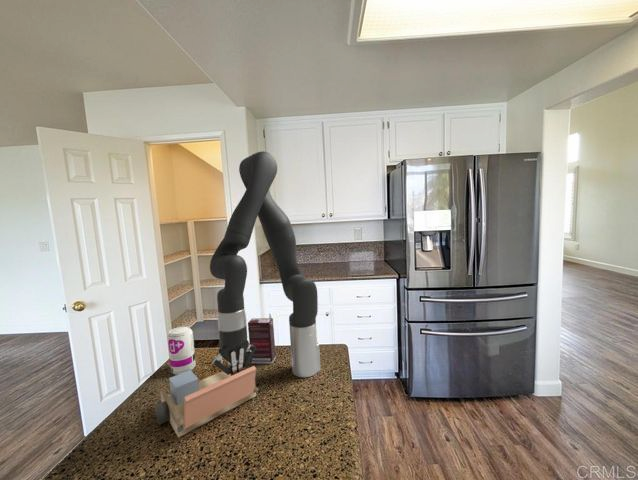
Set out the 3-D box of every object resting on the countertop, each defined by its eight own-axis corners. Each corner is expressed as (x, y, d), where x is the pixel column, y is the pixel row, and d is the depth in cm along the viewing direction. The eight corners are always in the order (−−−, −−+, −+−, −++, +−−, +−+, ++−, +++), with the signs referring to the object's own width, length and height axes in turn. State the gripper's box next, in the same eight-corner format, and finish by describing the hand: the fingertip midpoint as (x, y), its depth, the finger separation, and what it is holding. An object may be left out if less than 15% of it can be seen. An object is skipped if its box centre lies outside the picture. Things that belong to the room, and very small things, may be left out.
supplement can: (186, 376, 96) (182, 335, 95) (165, 374, 98) (161, 334, 97) (200, 364, 104) (196, 325, 103) (181, 362, 106) (177, 325, 105)
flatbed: (239, 372, 97) (238, 358, 97) (265, 394, 84) (264, 378, 84) (152, 411, 79) (150, 395, 78) (168, 446, 66) (166, 427, 65)
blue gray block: (191, 385, 86) (190, 369, 85) (199, 394, 80) (198, 378, 80) (170, 394, 82) (169, 378, 81) (177, 405, 76) (176, 388, 76)
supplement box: (276, 357, 106) (273, 317, 105) (272, 364, 101) (269, 322, 100) (254, 357, 107) (252, 317, 106) (250, 363, 103) (247, 322, 101)
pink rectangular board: (251, 389, 82) (254, 365, 79) (253, 393, 81) (256, 368, 78) (183, 424, 69) (184, 397, 66) (185, 428, 68) (186, 401, 66)
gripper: (247, 315, 84) (251, 369, 85) (203, 328, 75) (208, 388, 77) (260, 321, 78) (264, 379, 80) (214, 336, 70) (219, 401, 71)
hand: (237, 383), depth 78 cm, fingers closed
